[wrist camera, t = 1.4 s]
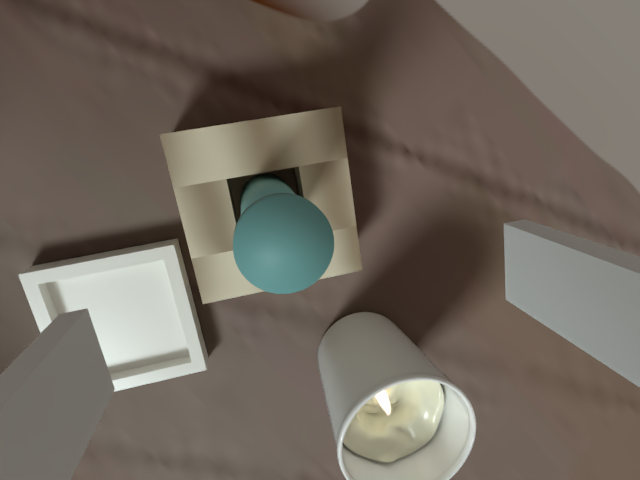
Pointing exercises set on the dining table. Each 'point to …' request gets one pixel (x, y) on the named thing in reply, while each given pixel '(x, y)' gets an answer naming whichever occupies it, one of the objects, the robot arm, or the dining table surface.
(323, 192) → the beige socket block
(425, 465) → the candle holder
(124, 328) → the tray
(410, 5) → the dining table surface
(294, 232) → the plug
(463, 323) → the dining table surface
